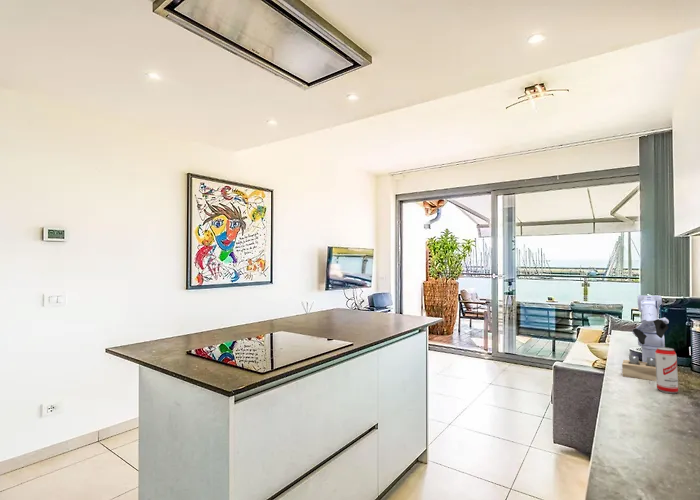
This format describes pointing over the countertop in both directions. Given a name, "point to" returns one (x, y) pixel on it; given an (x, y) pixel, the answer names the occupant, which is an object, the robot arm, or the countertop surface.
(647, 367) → the housing
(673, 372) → the beer can
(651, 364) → the peg
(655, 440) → the countertop surface
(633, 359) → the peg
